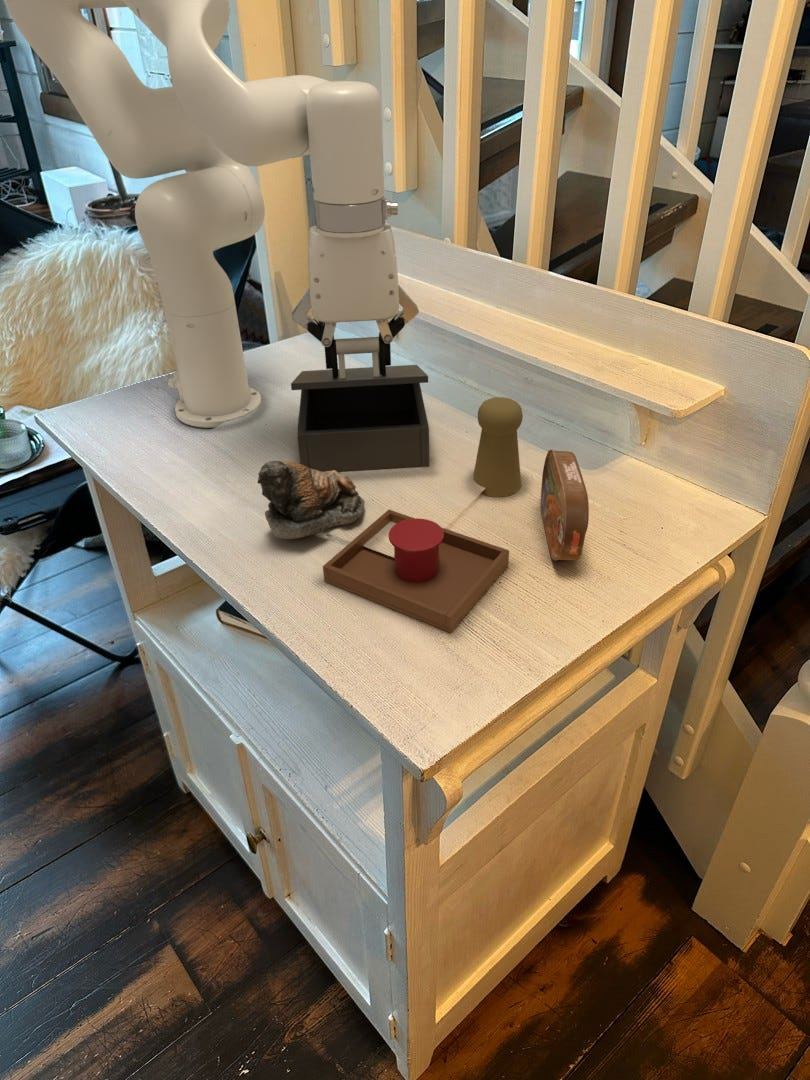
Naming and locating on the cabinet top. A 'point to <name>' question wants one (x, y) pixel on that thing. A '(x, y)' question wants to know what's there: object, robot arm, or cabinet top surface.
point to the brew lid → (359, 369)
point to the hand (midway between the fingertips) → (358, 370)
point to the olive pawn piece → (498, 447)
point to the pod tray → (433, 601)
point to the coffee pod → (416, 549)
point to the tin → (564, 505)
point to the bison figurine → (307, 499)
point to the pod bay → (363, 428)
